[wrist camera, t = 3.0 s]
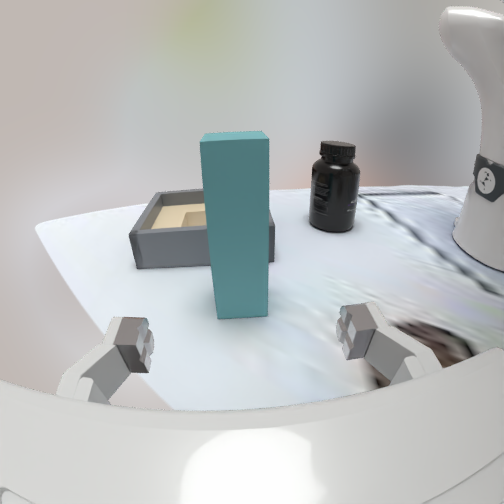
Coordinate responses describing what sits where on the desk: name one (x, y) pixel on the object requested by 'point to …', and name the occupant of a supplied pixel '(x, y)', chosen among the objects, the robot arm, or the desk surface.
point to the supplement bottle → (334, 187)
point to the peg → (237, 220)
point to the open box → (176, 232)
